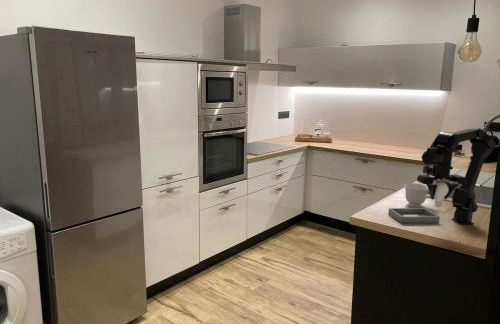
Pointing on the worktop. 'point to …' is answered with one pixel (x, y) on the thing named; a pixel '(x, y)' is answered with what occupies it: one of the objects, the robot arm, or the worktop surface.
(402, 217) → the tray
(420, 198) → the teacup
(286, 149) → the worktop surface
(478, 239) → the worktop surface
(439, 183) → the lightbulb
